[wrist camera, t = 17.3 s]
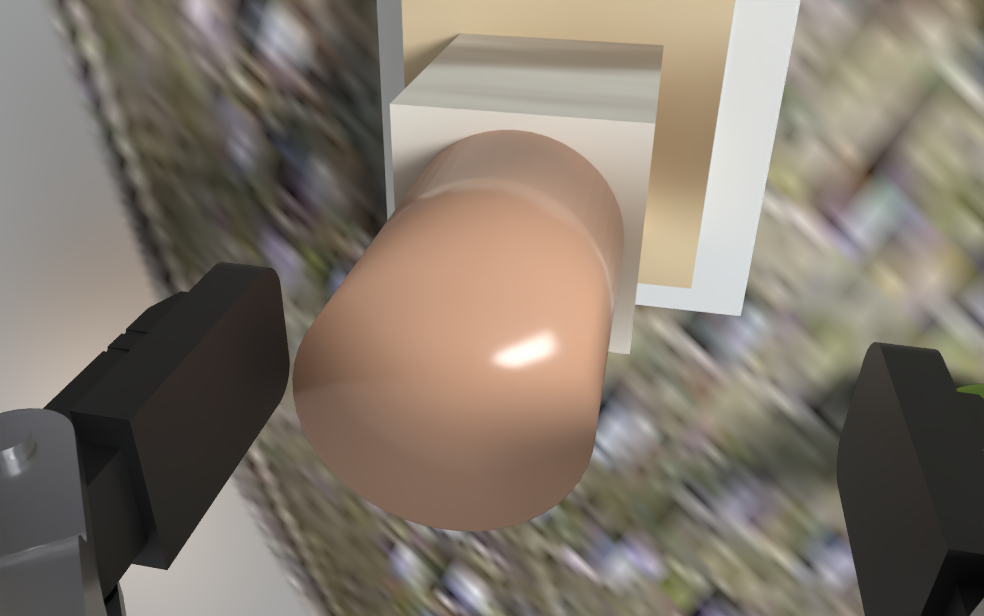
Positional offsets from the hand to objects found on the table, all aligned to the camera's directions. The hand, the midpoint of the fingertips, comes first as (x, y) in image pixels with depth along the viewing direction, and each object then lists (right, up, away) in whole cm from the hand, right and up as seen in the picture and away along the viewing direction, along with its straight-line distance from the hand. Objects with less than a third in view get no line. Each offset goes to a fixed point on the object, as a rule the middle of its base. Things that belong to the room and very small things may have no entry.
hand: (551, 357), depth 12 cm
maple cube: (+1, +5, +11) cm, 12 cm away
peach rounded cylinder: (0, +2, +5) cm, 6 cm away
